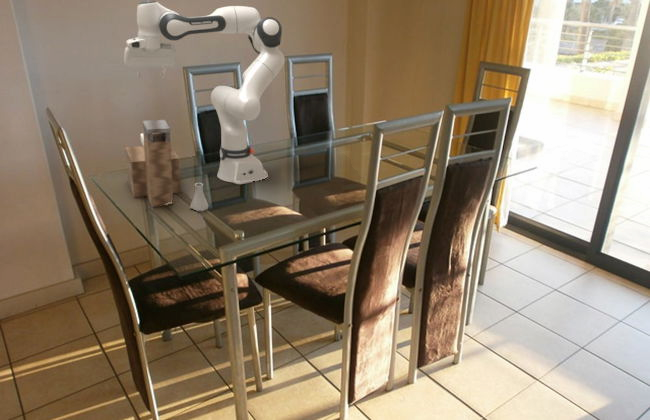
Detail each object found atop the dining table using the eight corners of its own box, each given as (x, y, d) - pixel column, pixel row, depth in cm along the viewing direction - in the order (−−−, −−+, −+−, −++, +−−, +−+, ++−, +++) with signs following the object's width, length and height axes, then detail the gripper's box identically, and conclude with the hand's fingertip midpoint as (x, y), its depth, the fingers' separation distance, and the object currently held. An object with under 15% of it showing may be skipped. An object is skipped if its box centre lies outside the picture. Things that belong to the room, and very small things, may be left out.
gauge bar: (150, 139, 219) (150, 132, 217) (160, 158, 202) (160, 150, 200) (140, 140, 217) (140, 132, 215) (149, 159, 200) (149, 151, 198)
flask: (203, 213, 197) (203, 189, 193) (186, 209, 198) (185, 186, 194) (211, 205, 203) (211, 182, 199) (194, 202, 204) (194, 179, 200)
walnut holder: (172, 177, 223) (169, 107, 209) (185, 203, 203) (184, 127, 189) (128, 181, 215) (122, 108, 201) (137, 208, 195) (132, 130, 181)
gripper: (173, 42, 218) (174, 75, 224) (122, 40, 209) (124, 74, 215) (176, 45, 213) (177, 78, 219) (124, 43, 204) (126, 78, 210)
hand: (150, 76), depth 217 cm, fingers open, 8 cm apart
